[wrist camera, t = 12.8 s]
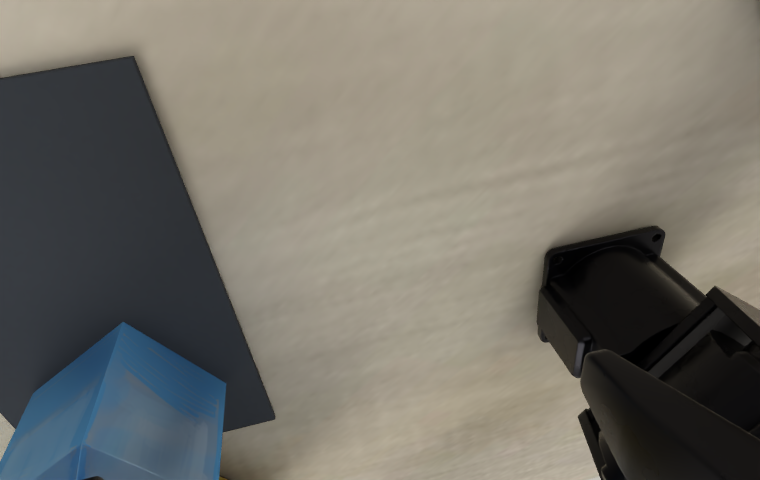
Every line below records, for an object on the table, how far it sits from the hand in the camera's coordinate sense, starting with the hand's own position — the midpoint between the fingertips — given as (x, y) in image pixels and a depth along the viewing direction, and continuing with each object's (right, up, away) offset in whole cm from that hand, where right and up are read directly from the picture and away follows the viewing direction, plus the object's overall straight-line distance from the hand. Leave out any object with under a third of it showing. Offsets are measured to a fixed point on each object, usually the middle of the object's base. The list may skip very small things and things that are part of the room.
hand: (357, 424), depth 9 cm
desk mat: (-13, 0, +13) cm, 18 cm away
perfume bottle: (-12, -4, +15) cm, 20 cm away
